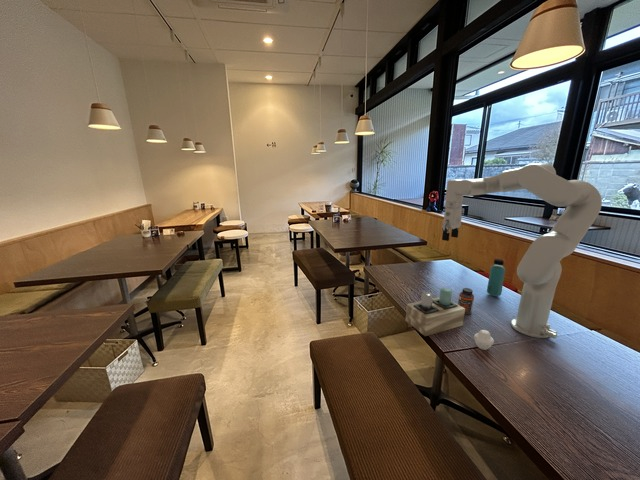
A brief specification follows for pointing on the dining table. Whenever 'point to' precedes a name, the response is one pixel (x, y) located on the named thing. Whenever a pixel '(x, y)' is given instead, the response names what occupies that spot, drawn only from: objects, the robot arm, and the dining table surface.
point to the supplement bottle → (466, 300)
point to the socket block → (434, 317)
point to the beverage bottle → (496, 278)
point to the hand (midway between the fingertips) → (449, 238)
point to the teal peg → (445, 297)
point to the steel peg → (426, 301)
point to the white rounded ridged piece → (483, 339)
